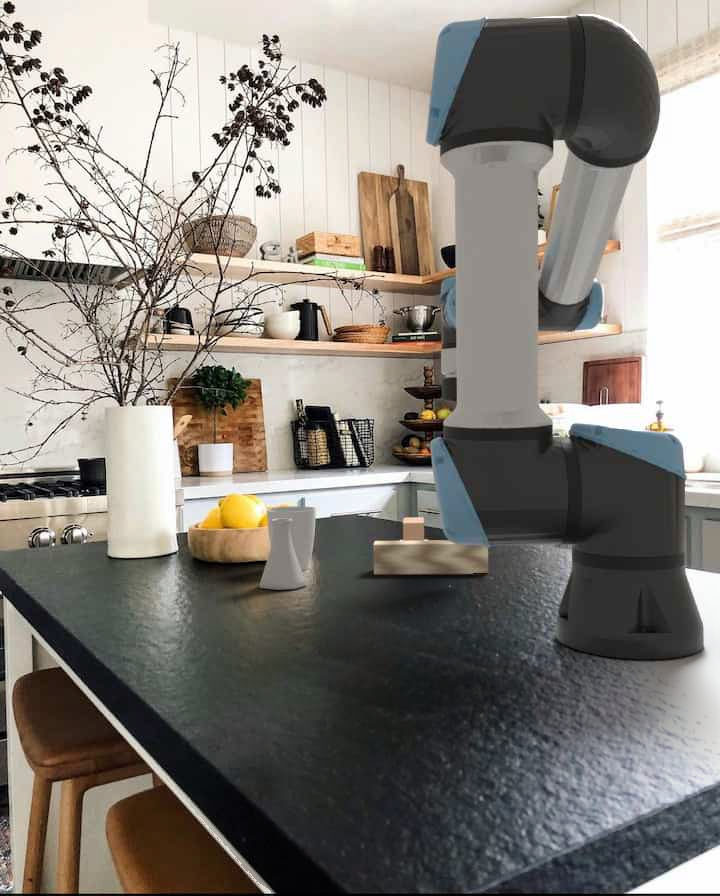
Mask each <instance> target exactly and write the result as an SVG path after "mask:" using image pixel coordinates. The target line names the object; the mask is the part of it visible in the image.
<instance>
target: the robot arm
mask: <svg viewBox="0 0 720 896" xmlns="http://www.w3.org/2000/svg"><path fill="white" fill-rule="evenodd" d="M434 56H435V57H434V63H433V72H432V80H431V89H430V99H429V104H428V105H429V106H428V113H427V114H428V117H427V127H426V134H425V136H426V137H425V141H426V143H427V144H428V145H431V146H432V147H439V162H440V165H442V166H443V168H444V169H445V170H446V171H447V172H449V173H450V174H451V175H452V177H453V179H454V217H455V218H454V225H455V227H454V228H455V230H454V231H455V232H454V233H455V234H454V236H455V239H454V241H455V242H454V243H455V245H454V247H455V276H451V277H448V278H445V279H443V281H442V282H441V284H440V285H441V286H440V296H439V297H440V299H439V304H440V326H441V327H440V328H441V329H440V330H441V350H440V359H441V360H440V364H441V365H440V366H441V371H440V372H441V374H442V375H444V376H445V377H444V378H443V380H441V398H442V399H441V400H442V401H444V402H456V406H455V408H454V410H453V411H451V413H450V414H449V415H448V416H447V417H446V418H444V420H443V422H442V423H443V424H442V427H443V429H442V432H443V433H442V434H443V436H442V437H441V436H437V437H436V438H433V439H431V441H430V443H429V449H430V457H431V465H432V472H433V473H432V474H433V480H434V489H435V495H436V500H437V507H438V512H439V517H440V524H441V526H442V527H441V529H442V531H443V534H444V536H445V538H447V540H450V541H451V542H453V543H455V544H459V545H482V546H485V547H488V548H491V546H494V547H495V546H544V545H545V546H548V545H549V546H551V545H554V546H555V545H556V546H557V545H570V546H571V568H570V573H569V576H568V578H567V582H566V585H565V589H564V591H563V594H562V598H561V601H560V603H559V604H560V605H559V606H558V610H557V614H556V616H555V637H556V639H557V641H559V643H560V644H563V645H564V646H567V647H569V648H571V649H574V650H577V651H580V652H584V653H587V654H588V653H589V654H592V655H596V656H597V655H598V656H603V657H608V658H609V657H611V658H619V659H620V658H621V659H629V660H630V659H631V660H632V659H634V660H663V659H675V658H681V657H687V656H690V655H694V654H696V653H698V652H701V650H702V649H703V648H704V644H705V643H704V639H705V638H704V637H705V636H704V635H705V634H704V623H703V620H702V618H701V614H700V611H699V608H698V606H697V603H696V600H695V597H694V593H693V591H692V588H691V584H690V582H689V580H688V579H689V578H688V576H687V573H686V572H687V571H686V481H687V479H688V477H687V475H686V468H685V458H684V448H683V444H682V442H681V440H680V439H679V438H678V437H677V436H676V435H674V434H671V433H668V432H663V431H657V430H650V429H649V430H647V429H639V428H631V427H622V426H614V425H613V426H612V425H601V424H592V423H591V424H590V423H589V424H588V423H579V422H577V423H572V424H571V426H570V428H569V430H568V435H569V436H554V435H553V434H554V431H553V429H554V425H553V424H554V423H553V419H552V418H551V416H549V415H548V414H547V413H546V412H545V410H543V409H542V408H541V407H540V405H539V332H566V333H573V332H575V331H585V330H586V331H587V330H592V329H594V328H595V327H597V326H599V325H598V324H600V321H601V317H602V310H603V303H604V300H603V299H604V296H603V289H602V285H601V283H600V281H599V280H598V279H596V276H597V274H598V271H599V268H600V266H601V262H602V260H603V256H604V255H605V251H606V248H607V245H608V243H609V239H610V237H611V234H612V231H613V228H614V225H615V221H616V219H617V217H618V214H619V211H620V207H621V206H622V205H621V204H622V202H623V199H624V197H625V193H626V191H627V187H628V185H629V182H630V180H631V176H632V173H633V170H634V167H635V166H636V165H637V164H639V163H640V162H641V161H643V159H645V157H647V155H649V152H650V150H651V147H652V145H653V142H654V139H655V136H656V134H657V131H658V127H659V122H660V115H661V95H660V94H661V93H660V87H659V80H658V77H657V73H656V70H655V67H654V65H653V63H652V61H651V59H650V57H649V55H648V53H647V51H646V49H645V48H644V47H643V45H642V44H641V43H640V42H639V40H638V39H637V38H636V36H634V34H633V33H632V32H631V31H630V30H628V29H627V28H625V27H624V26H623V25H621V24H620V23H618V22H616V21H614V20H611V19H609V18H606V17H603V16H600V15H596V14H576V15H571V16H570V15H569V16H567V15H566V16H565V15H564V16H563V15H562V16H540V17H539V16H537V17H536V16H535V17H534V16H533V17H514V18H513V17H511V18H510V17H507V18H506V17H505V18H488V17H487V16H484V17H481V18H480V19H473V20H461V21H453V22H451V23H448V24H447V25H445V26H444V27H443V28H442V29H441V31H440V33H439V34H438V37H437V42H436V49H435V55H434ZM554 141H555V142H556V141H564V145H565V147H566V149H567V156H566V160H565V164H564V169H563V173H562V178H561V181H560V185H559V190H558V193H557V198H556V202H555V206H554V210H553V215H552V218H551V222H550V225H549V226H550V227H549V231H548V235H547V239H546V243H545V248H544V251H543V255H542V260H541V265H540V268H539V175H540V171H542V169H543V168H544V167H545V166H546V165H547V164H548V163H549V162H550V161H551V160H552V159H553V157H554Z"/></svg>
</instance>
